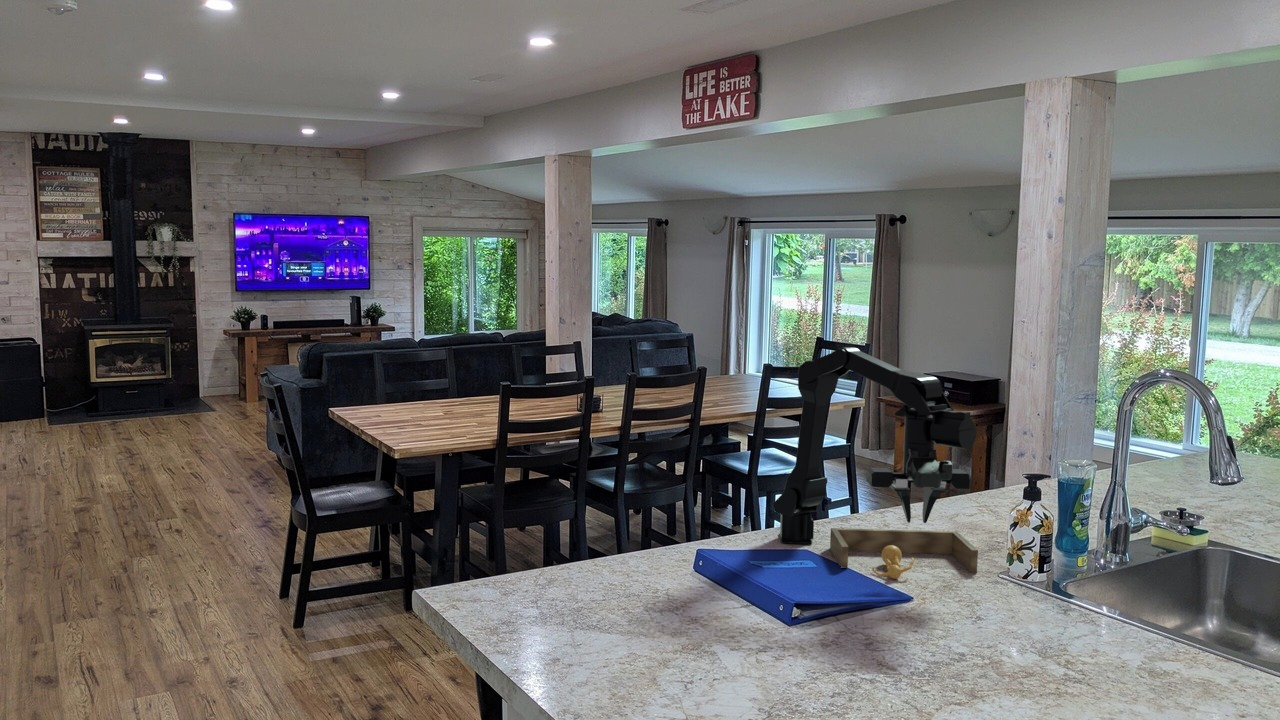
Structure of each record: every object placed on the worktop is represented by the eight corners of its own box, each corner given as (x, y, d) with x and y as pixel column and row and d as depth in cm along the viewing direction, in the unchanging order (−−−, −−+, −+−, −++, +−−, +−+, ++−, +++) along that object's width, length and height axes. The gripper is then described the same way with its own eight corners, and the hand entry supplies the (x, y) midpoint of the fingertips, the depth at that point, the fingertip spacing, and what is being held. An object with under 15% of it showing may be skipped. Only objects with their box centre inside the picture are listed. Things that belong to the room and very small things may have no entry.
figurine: (909, 539, 194) (908, 542, 183) (918, 569, 193) (918, 574, 181) (868, 550, 196) (865, 553, 185) (877, 579, 195) (874, 584, 183)
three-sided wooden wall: (841, 568, 190) (842, 546, 190) (830, 548, 204) (830, 528, 204) (976, 572, 189) (977, 550, 189) (956, 552, 203) (957, 531, 203)
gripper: (879, 448, 176) (876, 532, 177) (982, 450, 175) (979, 534, 177) (866, 438, 187) (864, 517, 188) (964, 440, 187) (960, 519, 188)
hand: (916, 522), depth 185 cm, fingers open, 3 cm apart
